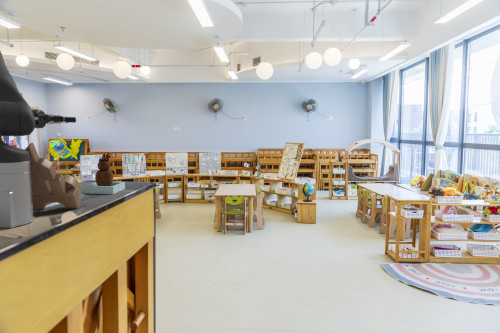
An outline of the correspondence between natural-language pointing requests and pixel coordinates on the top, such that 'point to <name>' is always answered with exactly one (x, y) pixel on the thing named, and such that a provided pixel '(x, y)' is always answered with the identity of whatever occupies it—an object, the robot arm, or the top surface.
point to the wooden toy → (51, 184)
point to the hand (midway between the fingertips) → (69, 119)
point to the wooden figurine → (104, 172)
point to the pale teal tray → (104, 188)
